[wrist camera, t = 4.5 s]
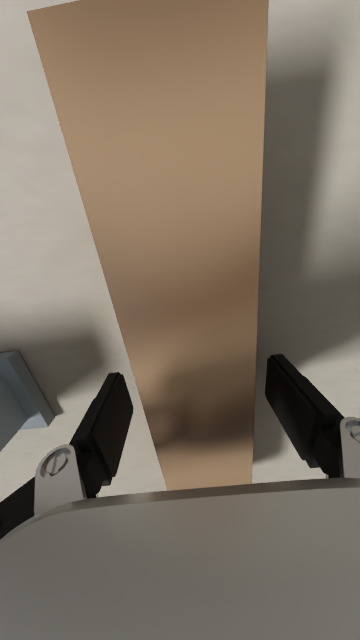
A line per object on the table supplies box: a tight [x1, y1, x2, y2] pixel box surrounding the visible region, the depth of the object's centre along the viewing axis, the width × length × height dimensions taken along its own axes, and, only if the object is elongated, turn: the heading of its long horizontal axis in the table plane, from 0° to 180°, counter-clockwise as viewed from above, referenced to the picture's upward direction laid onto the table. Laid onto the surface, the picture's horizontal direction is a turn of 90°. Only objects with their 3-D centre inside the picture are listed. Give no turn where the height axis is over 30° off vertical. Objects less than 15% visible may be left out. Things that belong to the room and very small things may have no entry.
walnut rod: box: [27, 0, 269, 491], centre depth 10 cm, size 24×4×5 cm, turn 8°
